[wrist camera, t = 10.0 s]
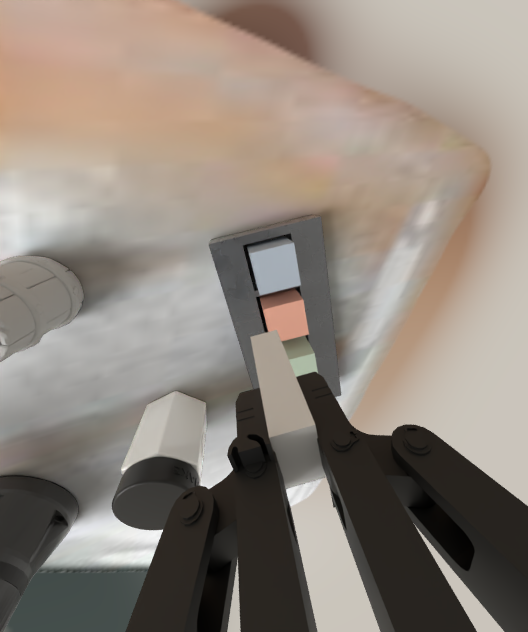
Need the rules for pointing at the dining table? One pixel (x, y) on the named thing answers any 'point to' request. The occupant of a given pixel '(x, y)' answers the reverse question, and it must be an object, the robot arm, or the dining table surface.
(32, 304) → the mug
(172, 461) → the jar
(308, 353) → the key sage
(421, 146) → the dining table surface
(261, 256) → the key slate
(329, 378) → the key panel
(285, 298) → the key coral
